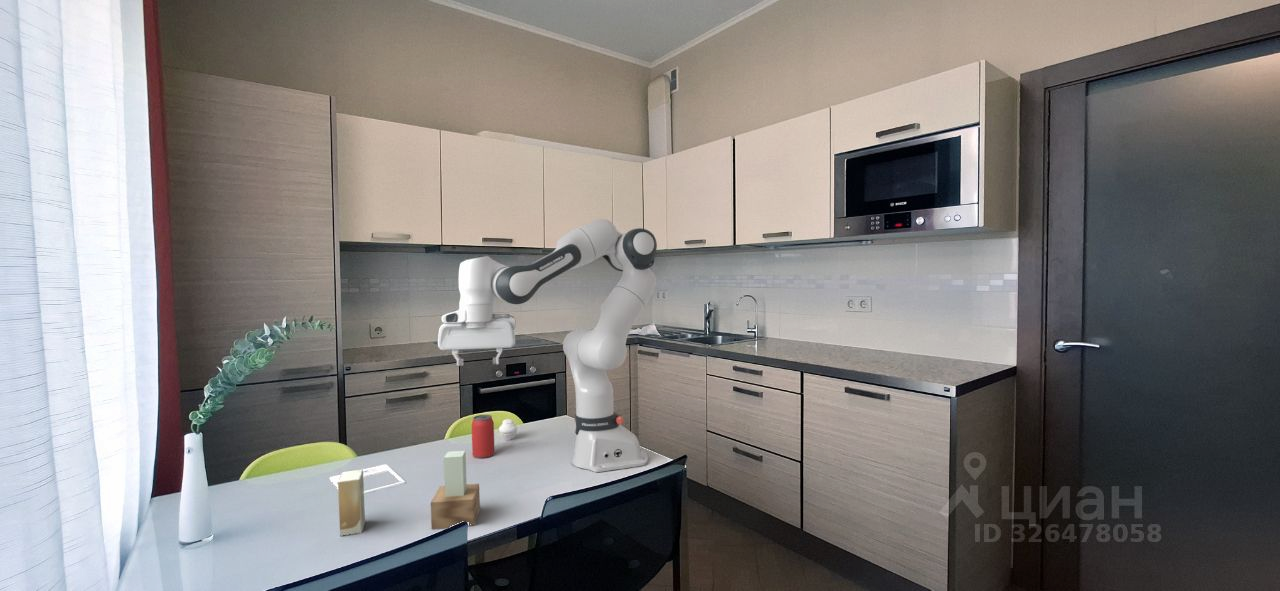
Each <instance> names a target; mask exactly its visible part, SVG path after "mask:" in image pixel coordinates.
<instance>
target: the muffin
mask: <svg viewBox="0 0 1280 591" xmlns="http://www.w3.org/2000/svg"><path fill="white" fill-rule="evenodd" d="M498 432H499V434H500V436H501V438H502V440H503V441H506V440H507V441H512V440H514V439H515V436H516V434H517V432H518V426H517V425H516V424H515V423H514V420H513V419H511V418H506V419H504V420H502V424H501V425H499V428H498ZM511 439H512V440H511Z"/></svg>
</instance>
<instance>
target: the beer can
mask: <svg viewBox="0 0 1280 591" xmlns="http://www.w3.org/2000/svg"><path fill="white" fill-rule="evenodd" d="M471 444H472V445H471V450H472V451H471V452H472V457H474V458H475V459H487V458H490V457H492V456H493V455H494V454H495V451H496V450H495V422H494V420H493V416H492V415H490V414H479V415H475V416H474V417H473V418H472V422H471ZM486 457H487V458H486Z"/></svg>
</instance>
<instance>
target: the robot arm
mask: <svg viewBox="0 0 1280 591" xmlns="http://www.w3.org/2000/svg"><path fill="white" fill-rule="evenodd" d="M657 247H658V245H657V239H656V237H655V235H654V234H653V232H652V231H650V230H648V229H645V228H641V227H640V228H639V227H637V228H633V229H630V230H629V231H627V232H625V233H621V232H619V230H617V228H616V226H615V224H614V223H613V222H612V221H610V220H608V219H605V218H600V219H597V220H593V221H590V222H587V223H585V224H582V225H580V226H577V227H575V228H573V229H572V230H570V231H568V232H566V233H565V234H564V235H563V236H561V237H560V238H559V239H557V242H556V245H555V249H554V250H553V251H552V252H551V253H549V254H547V255H545V256H543V257H541V258H540V259H538V260H536V261H534V262H532V263H529V264H527V265H514V266H508V265H504V264H502V263H500V262H498V261H496V260H495V259H493V258H491V257H490V256H489V255H488V254H482V255H481V254H480V255H475V256H474V255H473V256H470V257H465V258H464V259H463V260H462V261H461V262H460V264H459V268H458V290H459V294H460V295H459V297H460V298H459V303H458V304H459V306H458V309H455V310H452V311H450V312H448V313H444V314H443V315H442V316H441V322H442V323H443V324H441V325H440V327H439V329H438V334H437V336H438V337H437V348H438V349H439V350H441V351H450V350H451V354H452V356H453V358H454V359H455V360H456V367H463V366H464V358H461V357H460V356H459V354H458V353H460V350H484V349H496V353H497V354H496V356H495V357H493V358H492V365H494V366H495V365H499V364H500V361H499V360H500V356H501V354H502V353H503V352H504V351H503V349H506V348H507V349H509V348H513V347H514V346H515V345H516V334H515V329H516V328H517V326H516V324H517V323H516V322H517V320H516V317H514V316H513V315H511V314H509V313H504V314H501V313H498V314H497V313H495V314H494V301H495V300H499V301H503V302H506V303H508V304H511V305H522V304H525V303H527V302H528V301H529V300H530V299H531V298H533V296H534V295H535V294H536V292H537V291H538V290H539V289H540V288H541V287H542V286H543V285H544V284H546V283H547V282H549V281H551V280H553V279H555V278H556V277H558V276H560V275H562V274H564V273H565V272H567V271H570V270H571V271H572V270H574V269H578V268H581V267H583V266H585V265H588V264H590V263H592V262H594V261H596V260H597V259H599V258H601V257H602V258H603V259H604V260H605V261H606V262H607V263H608V265H609V266H610V267H611V268H612V269H613V270H615V271H618V272H622V275H621V278H620V280H619V281H618V282H617V283H616V285H615V286H614V287H613V288H612V290H611V292H610V293H609V294H608V296H607V297H606V298H605V301H603V303H602V304H601V306H600V310H599V311H600V317H599V319H598V322H597V324H596V326H595V327H594V328H593V329H592V328H585V327H584V328H583V327H582V328H578V329H574V330H571V331H569V333H567V334H566V336H565V337H564V339H563V343H562V349H563V352H564V355H565V357H566V358H567V360H568V363H569V366H570V370H571V375H572V379H573V380H572V381H573V382H574V390H575V414H574V419H573V420H574V433H575V443H574V444H575V445H574V450H573V454H572V460H571V463H572V465H573V466H574V467H578V468H581V469H585V470H589V471H591V472H594V473H602V472H608V471H616V470H623V469H629V468H636V467H642V466H645V465H646V464H648V462H649V456H648V453H647V452H646V450H644V449H642V448H641V445H640V442H639V439H638V437H637V436H636V434H634V433H633V432H632V431H630V430H629V429H627V428H626V427H624V426H623V424H624V419H623V416H621V415H620V414H619V413H618V411H616V412H615V411H614V388H613V385H612V384H613V383H611V381H610V379H609V377H608V374H607V371H611V370H616V369H617V368H620V367H621V366H622V365H623V364H624V363H625V361H626V359H627V355H628V354H627V353H628V347H627V345H626V344H627V339H628V336H629V334H630V331H631V329H632V328H633V325H634V324H635V322H636V321H637V319H638V318H639V316H640V314H641V313H642V311H643V310H644V309H645V307H646V306H647V304H648V302H649V301H650V299H651V298H652V295H653V293H654V291H655V289H656V287H657V286H656V285H657V282H658V280H657V276H656V275H655V273H654V272H653V271H652V270H651V269H650V268H652V267H653V266H654V264H655V257H656V253H657Z"/></svg>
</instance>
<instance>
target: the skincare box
mask: <svg viewBox="0 0 1280 591" xmlns="http://www.w3.org/2000/svg"><path fill="white" fill-rule="evenodd" d="M339 475H340V478H339V480H338V490H337V491H338V493H337V494H338V518H339V536H340V537H344V536H343V535H345V536H350V535H349V534H351V535H356V534H355V533H357V534H361V533H360V532H362V533H363V531H364V527H365V524H366V515H365V514H366V510H365V494H364V491H365V484H364V477H363V469H355V470H348V471H342V472H341V474H339Z"/></svg>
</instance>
